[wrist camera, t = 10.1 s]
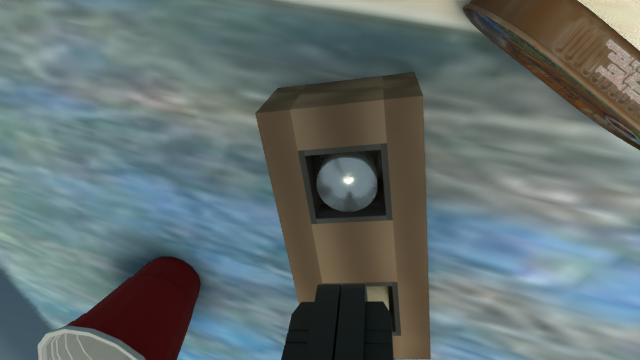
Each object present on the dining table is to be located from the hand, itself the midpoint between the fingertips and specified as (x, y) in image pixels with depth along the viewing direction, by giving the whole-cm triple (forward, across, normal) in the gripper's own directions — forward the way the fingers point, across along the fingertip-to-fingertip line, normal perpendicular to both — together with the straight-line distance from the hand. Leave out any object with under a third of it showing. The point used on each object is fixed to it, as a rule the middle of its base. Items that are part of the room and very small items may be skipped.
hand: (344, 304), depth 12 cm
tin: (+20, -13, -3) cm, 24 cm away
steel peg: (+19, +1, +3) cm, 20 cm away
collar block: (+19, +1, +9) cm, 21 cm away
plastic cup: (+20, +21, +16) cm, 33 cm away
